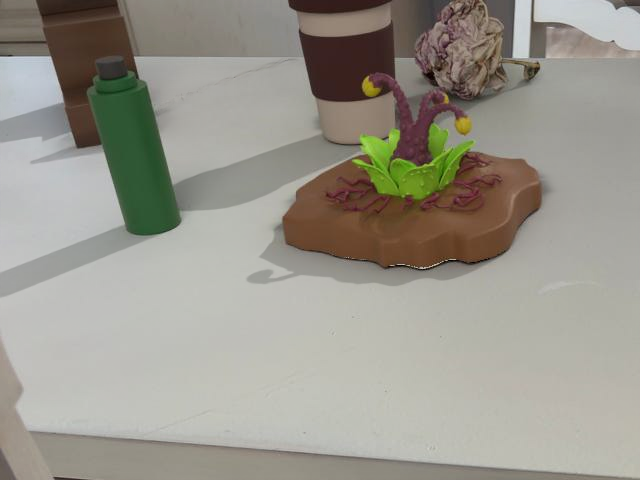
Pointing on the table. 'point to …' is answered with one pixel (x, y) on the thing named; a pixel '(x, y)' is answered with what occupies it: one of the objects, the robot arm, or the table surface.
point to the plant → (414, 194)
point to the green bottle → (133, 148)
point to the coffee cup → (348, 64)
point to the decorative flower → (465, 51)
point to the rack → (83, 54)
